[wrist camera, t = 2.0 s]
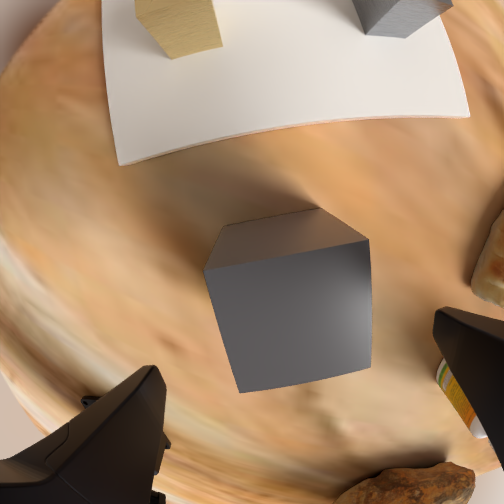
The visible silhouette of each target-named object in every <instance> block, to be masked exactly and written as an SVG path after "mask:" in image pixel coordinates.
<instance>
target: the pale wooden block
mask: <svg viewBox="0 0 504 504" xmlns="http://www.w3.org/2000/svg"><path fill="white" fill-rule="evenodd" d="M134 1H135V14H136V18H137V19H138V20H139V21H140V22H141V24H142V25H143V26H144V27H145V28H146V29H147V31H148V32H149V33H150V34H151V35H152V37H153V38H154V39H155V40H156V41H157V43H158V44H159V45H160V46H161V47H162V49H163V50H164V51H165V52H166V53H167V55H168V56H169V57H170V58H171V60H173V59H176V58H179V57H183V56H186V55H190V54H194V53H198V52H202V51H206V50H210V49H215V48H220V47H223V43H222V39H221V34H220V30H219V25H218V21H217V16H216V12H215V8H214V4H213V0H134Z"/></svg>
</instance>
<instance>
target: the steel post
mask: <svg viewBox="0 0 504 504" xmlns="http://www.w3.org/2000/svg"><path fill="white" fill-rule="evenodd" d="M352 2H353V4H354V7H355V9H356V12H357V14H358V17H359V20H360V22H361V25H362V28H363V31H364V33H365V35H370V36H385V37H396V38H404V39H405V38H407V37H408V36H410V35H411V34H412V33H414V32H415V31H417V30H418V29H419V28H421V27H422V26H424V25H425V24H427V23H428V22H430V21H431V20H433V19H434V18H436V17H437V16H439V15H440V14H442V13H443V12H445V11H446V10H448V9H449V8H451V7H453V4H452V2H451V0H352Z"/></svg>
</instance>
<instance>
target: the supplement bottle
mask: <svg viewBox="0 0 504 504" xmlns="http://www.w3.org/2000/svg"><path fill="white" fill-rule="evenodd" d="M436 379H437V383H438V385H439V386H440V388H441V389H442V391H443V392H444V394H445V395H446V396H447V398H448V399H449V401H450V402H451V403H452V405H453V406H454V408H455V409H456V411H457V412H458V414H459V415H460V417H461V418H462V420H463V421H464V423H465V424H466V426H467V427H468V429H469V430H470V432H471V433H472V435H473V436H474V437H476V438H485V437H488V436H487V434H486V432H485V430H484V429H483V427H482V425H481V423H480V421H479V419H478V417H477V416H476V414H475V412H474V410H473V408H472V407H471V405H470V403H469V401H468V400H467V398H466V396H465V394H464V393H463V391H462V389H461V388H460V386H459V384H458V383H457V381H456V379H455V378H454V376H453V374H452V373H451V371H450V369H449V367H448V365H447V363H446V361H445V359H444V358H443V360H442V362H441V364H440V366H439V368H438V371H437V376H436ZM488 442H489V443H490V446H491V447H492V449H493V450H494V448H493V446H492V444H491V442H490V440H488ZM494 451H495V450H494Z"/></svg>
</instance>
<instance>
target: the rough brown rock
mask: <svg viewBox="0 0 504 504" xmlns="http://www.w3.org/2000/svg"><path fill="white" fill-rule="evenodd" d="M474 488H475V473H474V471H473V470H471V469H467V468H465V467H461V466H458V465H456V464H454V463H452V462H445V463H439V464H437V465H436V466H434V467H430V468H425V469H411V468H394V469H386V470H384V471H382V473H381V474H380V475H379V476H377V477H376V478H368V479H366V480H364V481H362V482H361V483H359V484H357V485H355V486H354V487H352V488H350V489H349V490H347V491H346V492H344V493H343V494H341V495H340V497H339V498H338V499H337V500H336V501H335V502H333V504H467V503H468V501H469V499H470V498H471V496H472V493H473V491H474Z"/></svg>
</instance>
